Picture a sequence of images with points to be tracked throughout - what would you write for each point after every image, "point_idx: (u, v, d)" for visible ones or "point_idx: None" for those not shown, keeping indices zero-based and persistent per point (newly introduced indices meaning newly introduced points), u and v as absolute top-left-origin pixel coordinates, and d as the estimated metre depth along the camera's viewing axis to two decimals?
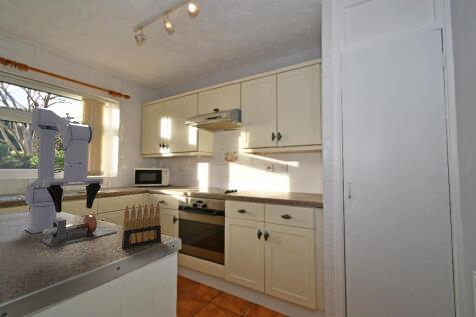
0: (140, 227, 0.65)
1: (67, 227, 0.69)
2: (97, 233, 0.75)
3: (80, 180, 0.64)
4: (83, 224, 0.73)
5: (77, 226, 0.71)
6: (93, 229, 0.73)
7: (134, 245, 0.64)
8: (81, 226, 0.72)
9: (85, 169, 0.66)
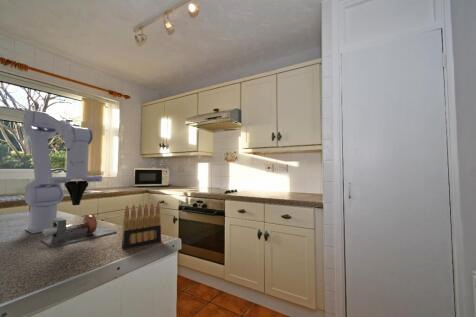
0: (140, 227, 0.65)
1: (67, 227, 0.69)
2: (97, 233, 0.75)
3: (81, 177, 0.70)
4: (83, 224, 0.73)
5: (77, 226, 0.71)
6: (93, 229, 0.73)
7: (134, 245, 0.64)
8: (81, 226, 0.72)
9: (85, 167, 0.73)
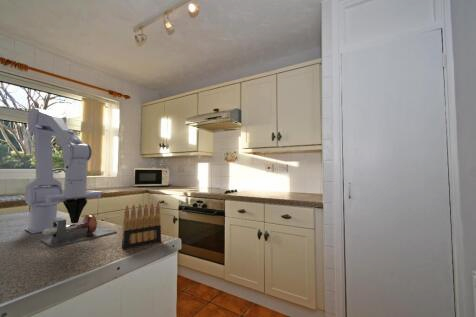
0: (140, 227, 0.65)
1: (67, 227, 0.69)
2: (97, 233, 0.75)
3: (80, 195, 0.69)
4: (83, 224, 0.73)
5: (77, 226, 0.71)
6: (93, 229, 0.73)
7: (134, 245, 0.64)
8: (81, 226, 0.72)
9: (84, 185, 0.72)
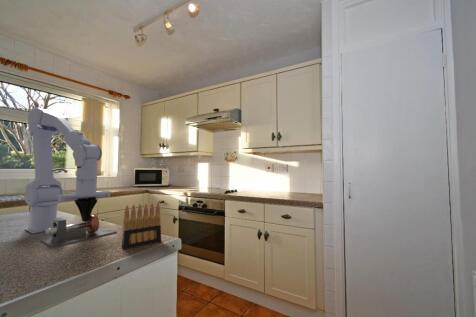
0: (140, 227, 0.65)
1: (70, 227, 0.70)
2: (97, 233, 0.75)
3: (90, 195, 0.72)
4: (85, 224, 0.73)
5: (79, 226, 0.72)
6: (95, 229, 0.74)
7: (134, 245, 0.64)
8: (83, 226, 0.73)
9: (95, 184, 0.74)
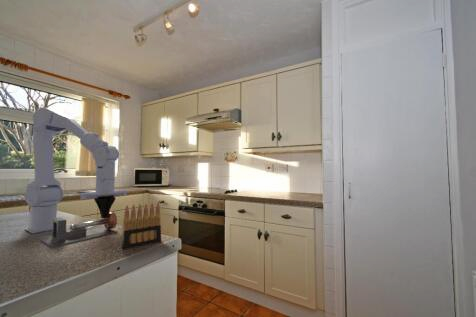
0: (140, 227, 0.65)
1: (91, 223, 0.75)
2: (97, 233, 0.75)
3: (110, 193, 0.77)
4: (105, 220, 0.78)
5: (99, 222, 0.77)
6: (113, 225, 0.79)
7: (134, 245, 0.64)
8: (103, 222, 0.78)
9: (113, 183, 0.79)
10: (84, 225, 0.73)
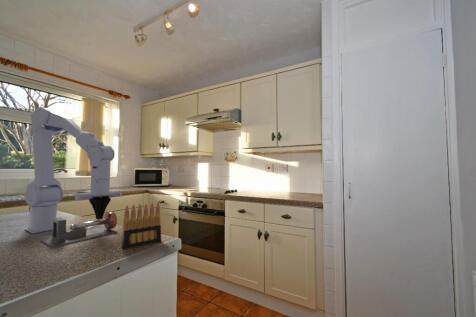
0: (140, 227, 0.65)
1: (91, 223, 0.75)
2: (97, 233, 0.75)
3: (105, 194, 0.75)
4: (105, 220, 0.78)
5: (99, 222, 0.77)
6: (113, 225, 0.79)
7: (134, 245, 0.64)
8: (103, 222, 0.78)
9: (108, 184, 0.78)
10: (84, 225, 0.73)
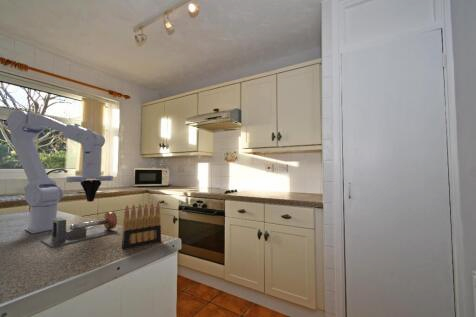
0: (140, 227, 0.65)
1: (91, 223, 0.75)
2: (97, 233, 0.75)
3: (95, 177, 0.80)
4: (105, 220, 0.78)
5: (99, 222, 0.77)
6: (113, 225, 0.79)
7: (134, 245, 0.64)
8: (103, 222, 0.78)
9: (99, 168, 0.82)
10: (84, 225, 0.73)
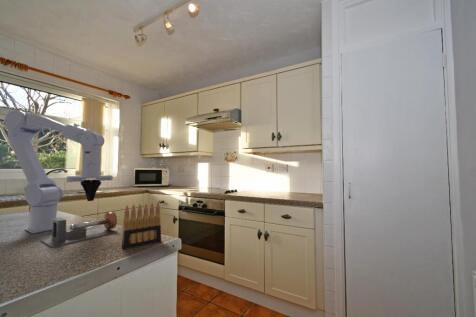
0: (140, 227, 0.65)
1: (91, 223, 0.75)
2: (97, 233, 0.75)
3: (95, 177, 0.80)
4: (105, 220, 0.78)
5: (99, 222, 0.77)
6: (113, 225, 0.79)
7: (134, 245, 0.64)
8: (103, 222, 0.78)
9: (99, 168, 0.83)
10: (84, 225, 0.73)
